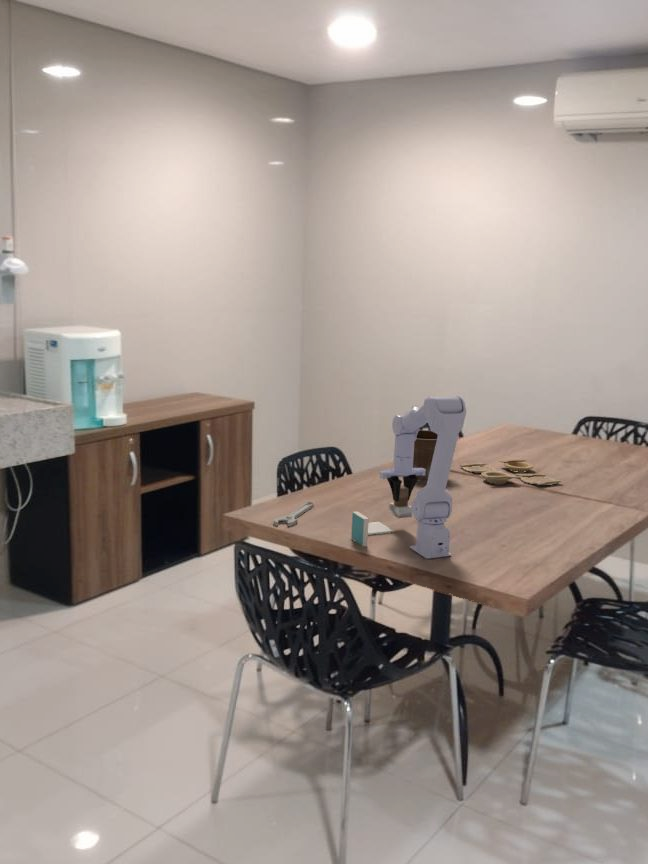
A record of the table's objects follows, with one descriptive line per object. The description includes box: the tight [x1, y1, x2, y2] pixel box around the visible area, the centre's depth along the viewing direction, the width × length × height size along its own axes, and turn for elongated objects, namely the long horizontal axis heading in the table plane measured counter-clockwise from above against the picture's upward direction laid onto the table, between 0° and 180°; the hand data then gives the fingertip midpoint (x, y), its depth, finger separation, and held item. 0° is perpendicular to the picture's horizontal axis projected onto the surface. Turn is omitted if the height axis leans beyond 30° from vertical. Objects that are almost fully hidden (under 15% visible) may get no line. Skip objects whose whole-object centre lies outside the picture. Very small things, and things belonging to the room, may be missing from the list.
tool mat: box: [368, 521, 394, 536], centre depth 249 cm, size 9×9×1 cm
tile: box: [350, 511, 370, 547], centre depth 236 cm, size 7×2×8 cm, turn 25°
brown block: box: [388, 485, 413, 519], centre depth 249 cm, size 6×4×8 cm
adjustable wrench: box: [272, 501, 315, 527], centre depth 259 cm, size 25×6×2 cm, turn 155°
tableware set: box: [459, 458, 562, 486], centre depth 320 cm, size 35×29×4 cm
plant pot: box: [413, 429, 438, 481], centre depth 313 cm, size 16×16×16 cm
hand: (401, 500), depth 249 cm, fingers closed on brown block, 3 cm apart
